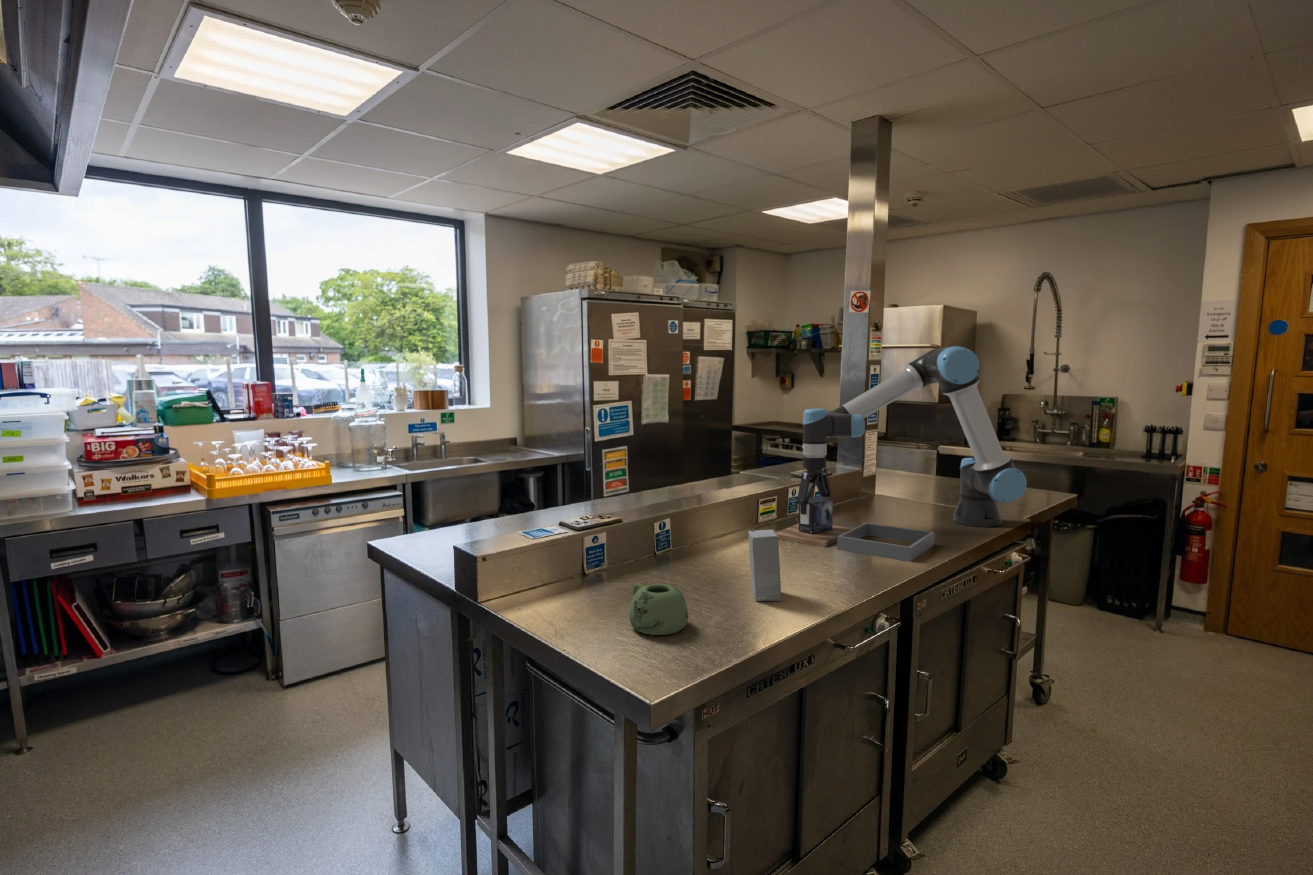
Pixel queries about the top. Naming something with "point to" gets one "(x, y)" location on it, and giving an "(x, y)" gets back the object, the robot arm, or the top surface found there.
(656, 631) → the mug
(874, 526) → the bin
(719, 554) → the top surface
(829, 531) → the walnut board
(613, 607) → the top surface
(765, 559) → the skincare box
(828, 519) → the small box
